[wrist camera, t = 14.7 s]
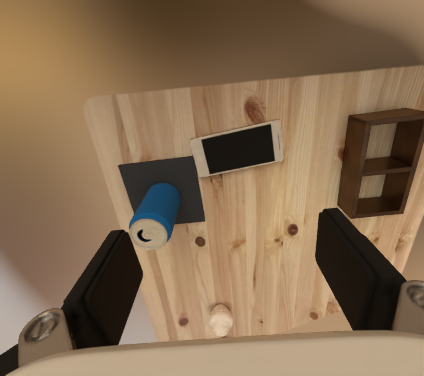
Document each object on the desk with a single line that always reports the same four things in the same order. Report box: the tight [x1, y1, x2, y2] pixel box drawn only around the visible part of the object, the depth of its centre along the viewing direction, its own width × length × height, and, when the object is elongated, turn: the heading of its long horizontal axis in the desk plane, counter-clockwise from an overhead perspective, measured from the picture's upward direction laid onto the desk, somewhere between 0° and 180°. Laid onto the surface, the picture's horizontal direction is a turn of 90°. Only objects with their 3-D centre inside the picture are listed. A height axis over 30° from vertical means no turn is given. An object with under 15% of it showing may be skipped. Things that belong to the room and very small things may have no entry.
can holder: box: [337, 108, 424, 219], centre depth 39 cm, size 17×9×5 cm, turn 8°
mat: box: [118, 156, 205, 224], centre depth 44 cm, size 14×14×1 cm
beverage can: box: [129, 183, 181, 250], centre depth 39 cm, size 6×6×12 cm
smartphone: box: [189, 120, 284, 177], centre depth 40 cm, size 7×16×1 cm, turn 103°
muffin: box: [208, 304, 233, 337], centre depth 56 cm, size 6×6×7 cm
